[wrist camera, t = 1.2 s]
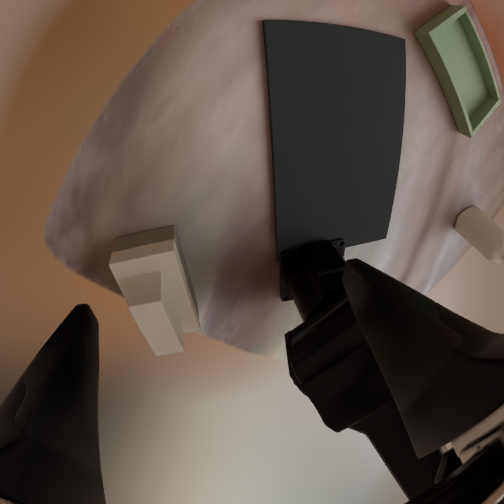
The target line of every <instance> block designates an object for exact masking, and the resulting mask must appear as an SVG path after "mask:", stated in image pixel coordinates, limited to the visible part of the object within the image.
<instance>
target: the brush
mask: <svg viewBox="0 0 504 504" xmlns="http://www.w3.org/2000/svg"><path fill="white" fill-rule="evenodd" d="M109 267H110V269H111V271H112V273H113V275H114V277H115V279H116V281H117V283H118V285H119V287H120V289H121V291H122V293H123V295H124V297H125V299H126V301H127V303H128V309H129V311H130V313H131V314H132V316H133V318H134V320H135V322H136V323H137V325H138V327H139V328H140V330H141V332H142V334H143V335H144V337H145V339H146V340H147V342H148V343H149V345H150V347H151V348H152V350H153V352H154V353H155V355H156V356H161V355H167V354H174V353H181V352H184V342H183V334H188V333H193V332H199V331H201V330H200V323H199V314H198V306H197V301H196V298H195V295H194V291H193V288H192V285H191V282H190V278H189V275H188V271H187V268H186V265H185V261H184V258H183V254H182V250H181V247H180V243H179V239H178V236H177V232H176V228H175V225H172V226H167V227H163V228H158V229H153V230H149V231H144V232H140V233H135V234H131V235H127V236H122V237H118V238H116V241H115V244H114V248H113V251H112V254H111V258H110V261H109Z"/></svg>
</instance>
